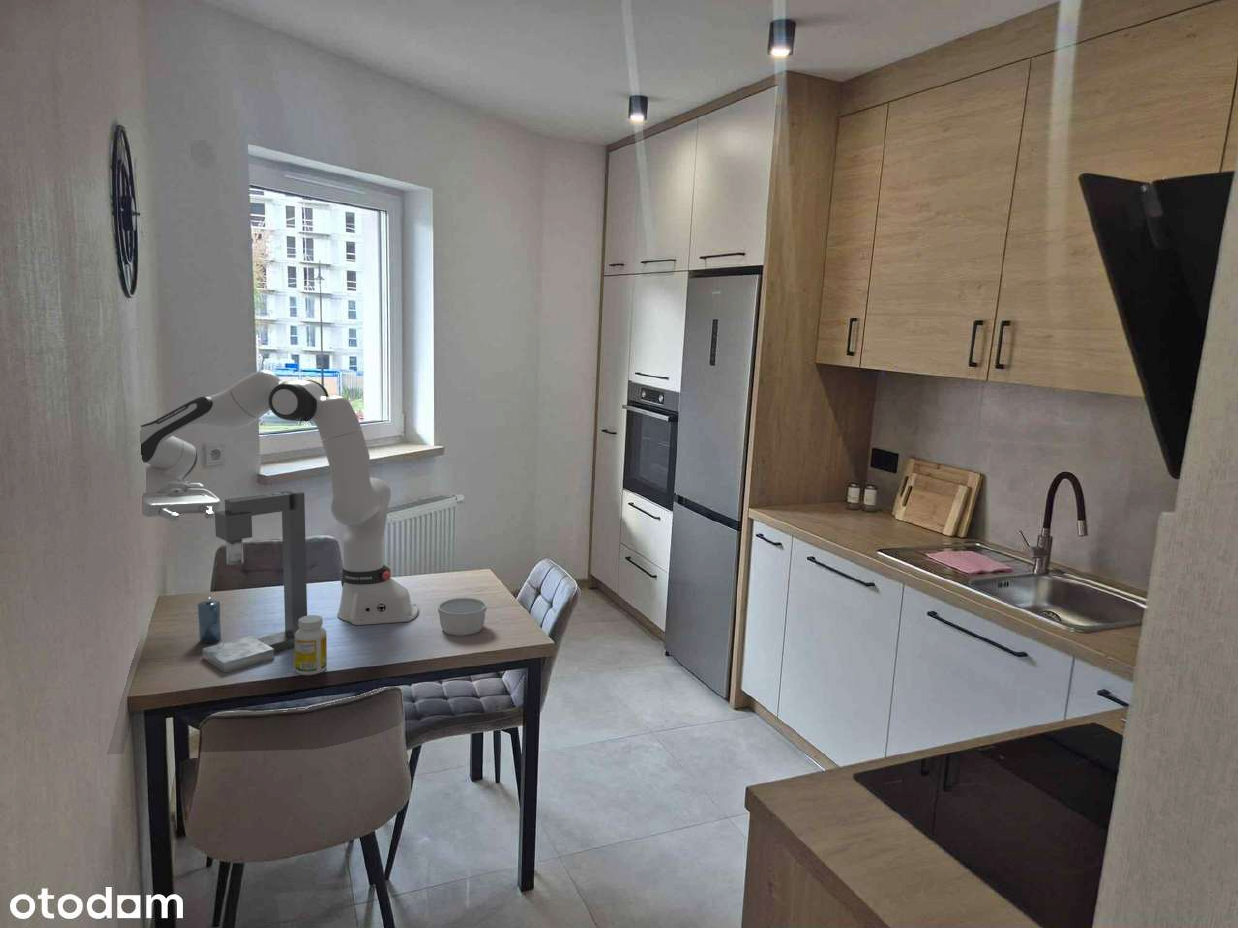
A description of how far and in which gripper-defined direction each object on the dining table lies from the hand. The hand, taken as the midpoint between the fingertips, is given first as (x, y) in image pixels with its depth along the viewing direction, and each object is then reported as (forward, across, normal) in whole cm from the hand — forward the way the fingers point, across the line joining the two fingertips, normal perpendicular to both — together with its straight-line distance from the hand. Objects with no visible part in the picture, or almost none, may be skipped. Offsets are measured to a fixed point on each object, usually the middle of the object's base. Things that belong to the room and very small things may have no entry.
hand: (193, 517), depth 207 cm
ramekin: (+60, +47, +7) cm, 77 cm away
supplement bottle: (+53, +5, +14) cm, 55 cm away
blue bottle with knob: (+20, 0, +26) cm, 33 cm away
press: (+36, +4, +20) cm, 41 cm away
